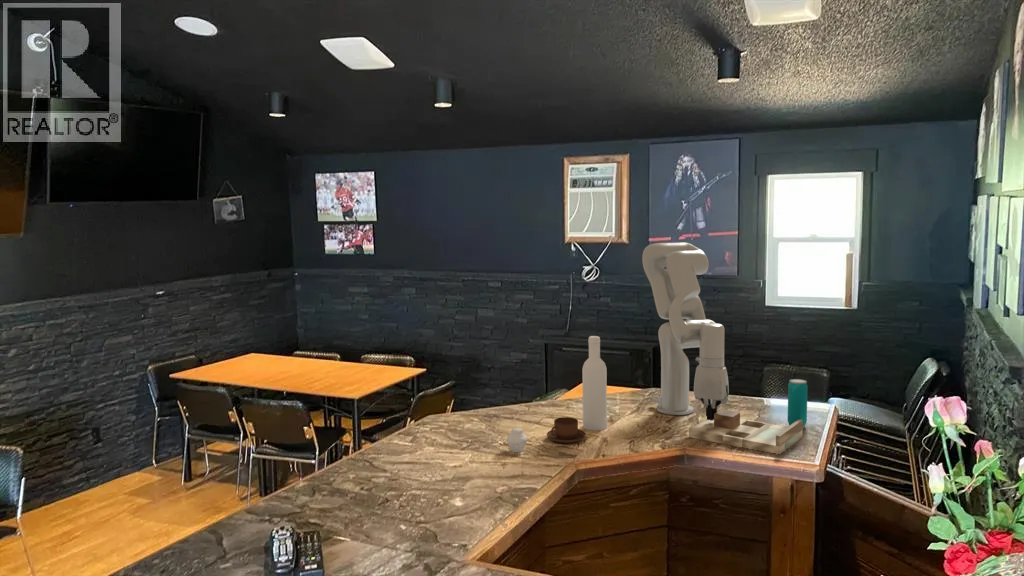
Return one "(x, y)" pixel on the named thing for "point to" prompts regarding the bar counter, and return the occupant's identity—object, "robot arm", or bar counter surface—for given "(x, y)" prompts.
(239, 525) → the bar counter surface
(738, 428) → the trap board
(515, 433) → the grey lidded jar
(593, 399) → the bottle
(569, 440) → the cup and saucer
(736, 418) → the walnut block
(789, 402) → the beverage can
